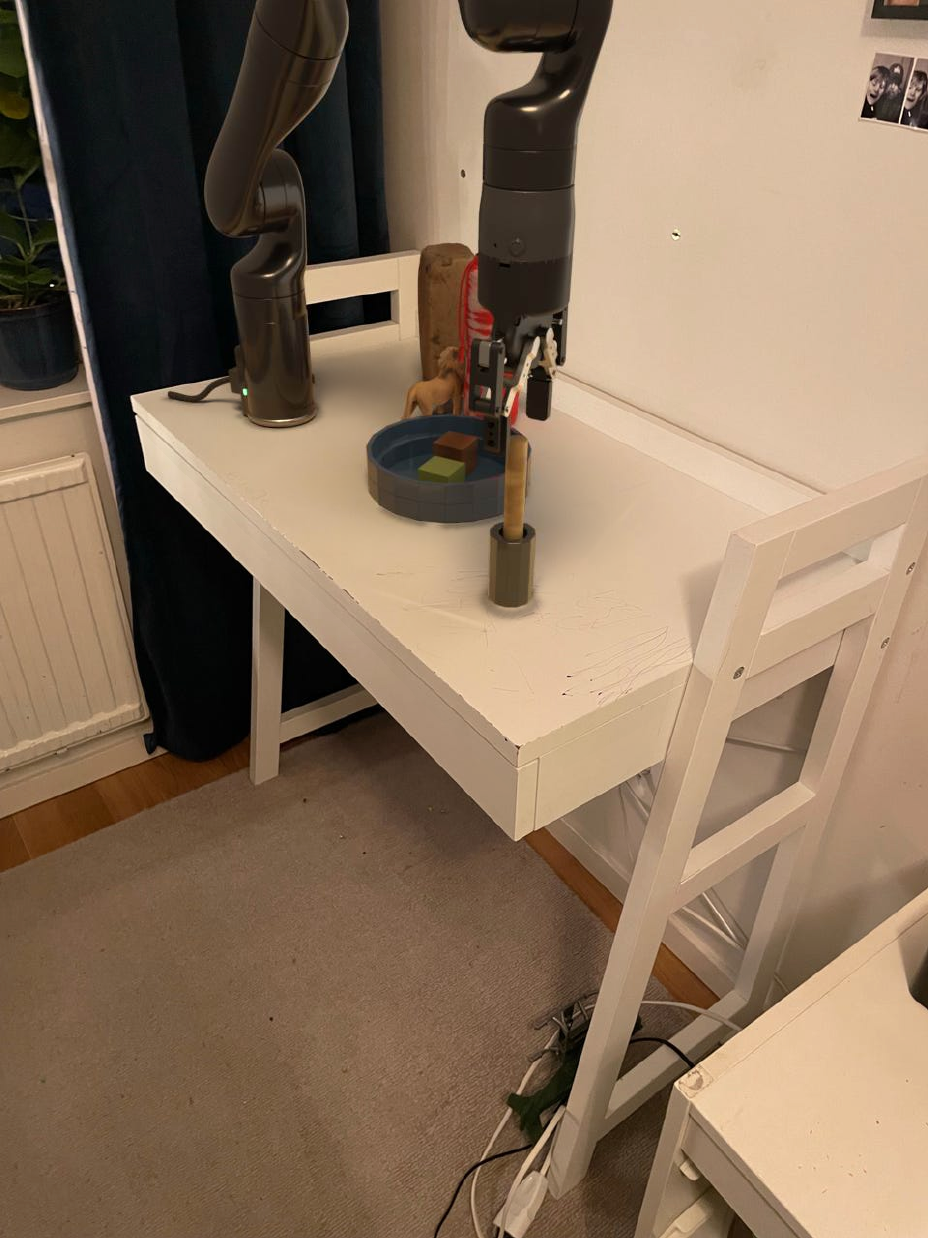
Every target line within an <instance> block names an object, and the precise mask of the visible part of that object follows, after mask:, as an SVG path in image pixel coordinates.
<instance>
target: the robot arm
mask: <svg viewBox="0 0 928 1238" xmlns="http://www.w3.org/2000/svg"><path fill="white" fill-rule="evenodd" d="M614 1H615V0H457V3H458V6H459V7H458V8H459V14H460V17H461V21H462V25H463V28H464V31H465V32H466V34H467V36H468V37H469V38H470V39H471V40H472V41H473V42H474V43H475V44H476V45H477V46H479V47H481V48H482V49H484V50H486V51H488V52H491V53H495V54H499V55H500V54H501V55H514V54H516V55H518V54H541V56H540V59H539V62H538V65H537V67H536V69H535V71H534V73H533V76H532V78H530V80H529V81H528V82H527V83H526V84H523V85H521V86H519V87H517V88H514V89H511V90H508V91H506V92H503V93H500V94H498V95H496V96H494V97H493V98H491V99H490V100H489V102H488V103H487V105H486V106H485V110H484V114H483V115H484V116H483V128H482V129H483V131H482V132H483V133H482V135H483V136H482V137H483V140H482V142H483V144H482V184H481V195H480V202H479V210H478V227H477V228H478V232H477V234H478V237H477V253H478V291H477V298H478V302H479V304H480V305H481V306H482V307H483V308H484V309H487V310H488V311H489V312H490V313H491V314H492V316H493V324H492V330H491V334H490V338H488V339H479V338H474V339H473V340H472V343H471V352H470V377H469V402H468V409H469V411H470V412H474V413H479V414H483V415H484V416H483V450H484V452H485V453H487V454H490V455H494V456H498V457H504V456H505V455H506V454H508V453H509V450H510V427H511V426H510V424H511V414H510V411H511V408H512V404H513V401H514V398H515V395H516V393H517V392H519V393H520V392H521V391H522V390H524V387H525V384H526V393H525V394H526V395H525V416H526V417H527V418H528V419H531V420H534V421H540V422H545V421H547V420H548V419H550V417H551V414H552V413H551V412H552V397H553V396H552V395H553V382H554V381H555V380H556V378H557V376H558V367H564V365H565V363H566V361H567V344H568V343H567V341H568V338H567V337H568V319H569V318H568V317H569V304H570V301H571V287H572V274H573V261H574V247H575V232H576V215H577V211H576V210H577V209H576V195H575V193H576V188H575V187H576V184H575V182H576V168H577V157H578V143H579V128H580V123H581V118H582V115H583V112H584V109H585V105H586V103H587V102H586V101H587V98H588V95H589V91H590V89H591V84H592V80H593V77H594V74H595V70H596V67H597V65H598V61H599V58H600V54H601V52H602V49H603V46H604V42H605V39H606V36H607V34H608V30H609V25H610V22H611V18H612V13H613V9H614ZM348 33H349V8H348V2H347V0H256V2H255V7H254V10H253V13H252V19H251V23H250V26H249V30H248V34H247V38H246V44H245V50H244V55H243V58H242V63H241V66H240V70H239V73H238V76H237V81H236V84H235V87H234V91H233V94H232V97H231V101H230V105H229V107H228V110H227V113H226V116H225V119H224V121H223V124H222V126H221V129H220V131H219V134H218V137H217V139H216V142H215V144H214V147H213V150H212V152H211V155H210V158H209V161H208V164H207V167H206V171H205V178H204V186H203V188H204V189H203V192H204V193H203V195H204V204H205V208H206V212H207V216H208V218H209V220H210V222H211V224H212V225H213V227H214V228H215V229H216V231H218V232H219V233H221V234H222V235H225V236H227V237H230V238H248V237H254V236H259V238H258V240H257V242H256V244H255V246H254V247H253V248H252V249H251V250H250V251H249V252H248V253H247V254H246V255H244V256H243V257H242V258H241V259H239V260H237V261H236V262H235V263H234V264H233V266H232V267H231V269H230V282H231V283H230V284H231V290H232V299H233V306H234V314H235V319H236V329H237V336H238V343H239V345H237V346H235V347H234V357H235V363H236V364H235V365H236V366H234V367H232V368H231V369H228V376H224V377H221V378H218V379H216V380H214V381H212V382H210V383H209V384H208V385H207V386H206V387H204V389H203V390H202V391H201V392H200V393H198V394H195V395H190V394H189V395H188V394H184V393H180V392H177V391H173V390H169V391H167V397H168V398H172V399H176V400H180V401H183V402H187V403H188V402H189V403H195V402H200V401H202V400H205V398H207V397H208V396H209V394H211V392H212V391H213V390H215V389H216V388H218V387H221V386H224V385H226V384H229V385H230V392H231V393H232V394H236V395H240V402H241V409H242V415H243V416H246V417H248V419H249V420H250V421H251V422H252V423H254V424H256V425H259V426H264V427H269V428H286V427H293V426H298V425H301V424H304V423H307V422H309V421H311V420H312V419H314V418H315V417H316V415H317V404H316V398H315V397H316V396H315V388H314V387H317V386H316V385H317V384H316V383H317V382H316V375H315V374H314V372H313V363H312V351H311V339H310V330H309V319H308V308H307V307H308V306H307V297H306V295H307V294H306V283H305V274H306V271H307V264H308V249H307V224H306V223H307V222H306V221H307V220H306V218H307V217H306V198H305V191H304V186H303V185H304V184H303V179H302V176H301V174H300V171H299V167H298V165H297V163H296V162H295V160H294V158H293V157H292V156H291V155H290V154H289V153H288V152H287V151H285V150H283V149H280V148H277V147H278V146H279V145H280V144H281V143H282V141H284V139H286V137H287V136H288V135H289V134H290V133H291V132H292V131H293V130H294V129H295V128H296V127H297V126H298V125H299V124H300V123H301V122H302V121H303V120H304V119H305V118H306V117H307V116H308V115H309V114H310V113H311V111H312V110H313V109H315V107H316V106H317V105H318V104H319V102H320V101H321V100H322V98H323V97H324V96H325V94H326V93H327V90H328V89H329V87H330V85H331V84H332V80H333V79H334V76H335V73H336V70H337V68H338V66H339V65H338V64H339V62H340V59H341V57H342V53H343V50H344V47H345V44H346V42H347V37H348ZM555 344H556V345H555ZM504 373H506V374H511V375H514V376H511V377H508V376H504ZM527 375H530V377H528V376H527ZM481 386H484V388H483V391H482V394H481ZM503 388H505V389H506V390H505V393H504V396H503V400H502V392H503ZM480 395H481V398H480Z"/></svg>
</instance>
